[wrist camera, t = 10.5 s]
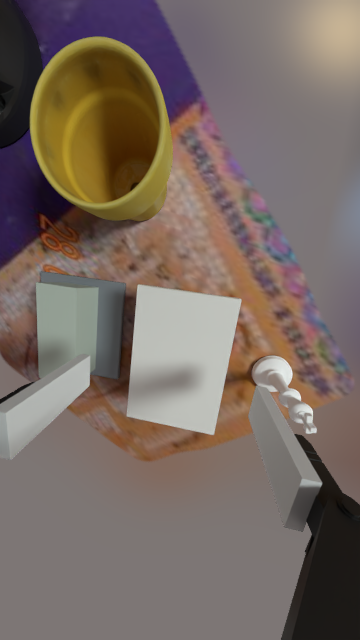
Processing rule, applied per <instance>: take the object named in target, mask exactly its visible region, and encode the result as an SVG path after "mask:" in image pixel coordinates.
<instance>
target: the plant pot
mask: <svg viewBox="0 0 360 640" xmlns="http://www.w3.org/2000/svg"><path fill="white" fill-rule="evenodd" d="M30 134H31V140H32V145H33V149H34V153H35V156H36V159H37V162H38V164H39V166H40V168H41V170H42V172H43V174H44V175H45V177H46V179H47V180H48V182H49V183H50V184H51V185H52V187H53V188H54V189H55V190H56V191H57V192H58V193H59V194H60V195H61V196H62V197H64V198H65V199H66V200H68V201H69V202H71V203H72V204H74V205H76V206H78V207H79V208H81V209H83V210H85V211H87V212H89V213H91V214H93V215H95V216H97V217H100V218H103V219H107V220H116V221H117V220H126V219H131V220H134V221H144V220H148V219H150V218H152V217H153V216H155V215H156V214H157V213H158V212H159V211H160V209H161V208H162V206H163V204H164V201H165V198H166V191H167V181H168V178H169V175H170V172H171V167H172V159H173V146H172V137H171V131H170V125H169V120H168V115H167V111H166V106H165V102H164V98H163V95H162V92H161V89H160V86H159V84H158V82H157V80H156V78H155V76H154V74H153V72H152V71H151V69H150V68H149V66H148V65H147V64H146V62H145V61H144V60H143V59H142V58H141V57H140V56H139V55H138V54H137V53H136V52H135V51H134V50H132V49H131V48H130V47H128V46H127V45H125V44H123V43H121V42H119V41H117V40H114V39H111V38H106V37H88V38H84V39H80V40H78V41H75V42H73V43H71V44H69V45H67V46H66V47H64V48H63V49H62V50H60V51H59V52H58V53H57V54H56V55H55V56H54V57H53V58H52V59H51V60H50V62H49V63H48V64H47V66H46V67H45V69H44V70H43V72H42V74H41V76H40V78H39V80H38V82H37V85H36V87H35V90H34V94H33V98H32V102H31V109H30ZM134 187H135V188H134Z"/></svg>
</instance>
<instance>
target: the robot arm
mask: <svg viewBox="0 0 360 640" xmlns="http://www.w3.org/2000/svg"><path fill="white" fill-rule="evenodd" d="M42 72H43V67H42V59H41V54H40V49H39V45H38V42H37V39H36V36H35V34H34V31H33V29H32V27H31V25H30V23H29V21H28V20H27V18H26V17H25V15H24V14H23V12H22V11H21V9H20V8H19V6H18V5H17V3H16V2H15V0H0V147H3V146H6V145H9V144H11V143H13V142H14V141H16V140H17V139H18V138H20V137H21V136H22V135H23V134H24V133H25V132H26V130H27V129H28V128H29V126H30V109H31V102H32V98H33V94H34V90H35V87H36V85H37V82H38V80H39V78H40V76H41V74H42ZM89 386H90V355H85V354H80V355H79V356H77V357H75V358H74V359H72V360H71V361H69V362H67V363H66V364H64V365H62V366H61V367H59V368H58V369H56V370H54V371H53V372H51V373H50V374H48V375H46V376H45V377H43V378H41V379H40V380H38V381H37V382H32V383H29V384H26V385H24V386H22V387H20V388H18V389H17V390H15V391H14V392H12V393H10V394H8V395H7V396H5V397H3V398H2V399H0V458H3V459H8V460H11V459H12V458H13V457H14V456H16V454H18V452H20V451H21V450H22V449H23V448H24V447H25V446H26V445H27V444H28V443H29V442H30V441H31V440H33V439H34V438H35V437H36V436H37V435H38V434H39V433H40V432H41V431H42V430H43V429H44V428H45V427H46V426H47V425H48V424H49V423H51V422H52V420H54V419H55V418H56V417H57V416H58V415H59V414H60V413H61V412H62V411H63V410H64V409H65V408H66V407H67V406H69V405H70V404H71V403H72V402H73V401H74V400H75V399H76V398H77V397H78V396H79V395H80V394H81V393H82V392H83V391H84V390H86V389H87V388H88V387H89ZM248 417H249V421H250V424H251V427H252V430H253V433H254V436H255V439H256V442H257V445H258V448H259V451H260V454H261V457H262V461H263V464H264V467H265V469H266V473H267V476H268V479H269V482H270V485H271V488H272V491H273V494H274V497H275V500H276V504H277V507H278V510H279V513H280V516H281V519H282V522H283V525H284V527H285V528H289V529H293V530H298V531H301V532H303V530H304V527H305V525H306V522H307V523H308V526H309V528H310V530H311V533H312V536H311V538H310V540H309V543H308V545H307V548H306V550H305V552H306V555H305V558H304V562H303V565H302V569H301V572H300V575H299V579H298V583H297V586H296V589H295V593H294V596H293V599H292V603H291V606H290V610H289V613H288V617H287V620H286V624H285V627H284V631H283V634H282V638H281V640H360V505H359V504H358V503H357V502H356V501H355V500H353V499H352V498H351V497H349V496H347V495H345V494H344V493H342V491H341V490H340V488H339V486H338V485H337V483H336V482H335V480H334V479H333V478H332V476H331V474H330V473H329V471H328V470H327V468H326V467H325V465H324V464H323V463H322V460H321V459H320V457H319V456H318V455H317V453H316V451H315V450H314V448H313V446H312V445H311V444H310V443H309V442H308V441H307V440H306V439H305V438H304V437H303V436H302V435H297V434H294V433H293V432H292V430H291V428H290V426H289V425H288V423H287V421H286V420H285V418H284V416H283V414H282V413H281V411H280V409H279V408H278V406H277V404H276V402H275V401H274V399H273V397H272V396H271V394H270V392H269V390H268V389H267V387H261V386H256V389H255V392H254V396H253V400H252V404H251V408H250V412H249V416H248Z"/></svg>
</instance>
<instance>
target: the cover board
mask: <svg viewBox="0 0 360 640" xmlns="http://www.w3.org/2000/svg"><path fill="white" fill-rule="evenodd" d="M241 300H242V299H239V298H234V297H227V296H220V295H213V294H206V293H199V292H192V291H185V290H178V289H171V288H164V287H157V286H150V285H143V284H142V285H138V287H137V299H136V311H135V323H134V335H133V347H132V359H131V371H130V383H129V395H128V407H127V416H128V417H132V418H137V419H142V420H146V421H151V422H155V423H160V424H165V425H169V426H174V427H179V428H183V429H188V430H192V431H197V432H202V433H206V434H211V435H214V432H215V427H216V422H217V417H218V412H219V407H220V402H221V397H222V393H223V388H224V383H225V378H226V373H227V368H228V363H229V358H230V354H231V349H232V344H233V339H234V334H235V329H236V324H237V319H238V314H239V310H240V305H241Z"/></svg>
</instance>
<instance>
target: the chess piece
mask: <svg viewBox="0 0 360 640" xmlns="http://www.w3.org/2000/svg"><path fill="white" fill-rule="evenodd" d="M252 377H253V380H254V382H255V383H256V384H257V385H258V386H261V387H267V389H268V390H269V392H276V391H278V392H279V393H280V394H279V401H280V403H281V404H282V405H283V406H285V407H288V412H289V416H290V418H291V419H292V420H293V421H295V422H297V423H304V431H305V432H306V433H309V434H310V433H316V431H317V428H316V427H315V425H314V424H313V423H312V421H313V411H312V409H311V407H310V406H309V405H307V404H305V403H304V402H301V396H300V394H299V392H298V391H297V390H295V389H291V388H288V385H289V383H290V382H291V379H292V370H291V367H290V366H289V364H288V363H287V361H285V360H284V359H283V358H281V357H278V356H266V357H263V358H261V359H259V360H258V361H257V362H256V363H255V365H254V366H253V369H252Z"/></svg>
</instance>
